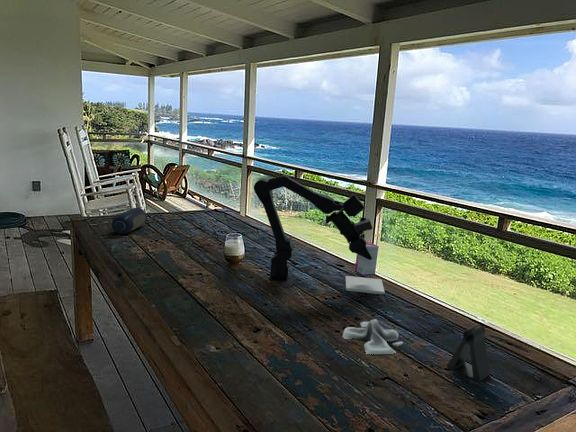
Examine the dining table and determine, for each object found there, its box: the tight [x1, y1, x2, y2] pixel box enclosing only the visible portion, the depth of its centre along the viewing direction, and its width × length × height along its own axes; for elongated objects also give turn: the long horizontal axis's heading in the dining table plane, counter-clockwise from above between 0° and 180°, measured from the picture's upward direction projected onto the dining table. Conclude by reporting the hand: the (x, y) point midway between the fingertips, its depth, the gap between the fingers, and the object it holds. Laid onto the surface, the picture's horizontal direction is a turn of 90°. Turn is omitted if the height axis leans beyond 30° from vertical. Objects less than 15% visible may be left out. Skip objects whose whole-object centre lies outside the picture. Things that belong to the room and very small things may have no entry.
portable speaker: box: [111, 207, 148, 235], centre depth 238 cm, size 25×10×10 cm, turn 175°
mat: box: [345, 275, 386, 295], centre depth 180 cm, size 14×14×1 cm
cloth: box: [342, 318, 404, 356], centre depth 137 cm, size 22×19×6 cm
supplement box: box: [354, 241, 380, 277], centre depth 178 cm, size 6×6×12 cm
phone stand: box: [446, 324, 492, 383], centre depth 121 cm, size 9×6×12 cm, turn 42°
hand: (370, 256), depth 177 cm, fingers closed on supplement box, 7 cm apart
